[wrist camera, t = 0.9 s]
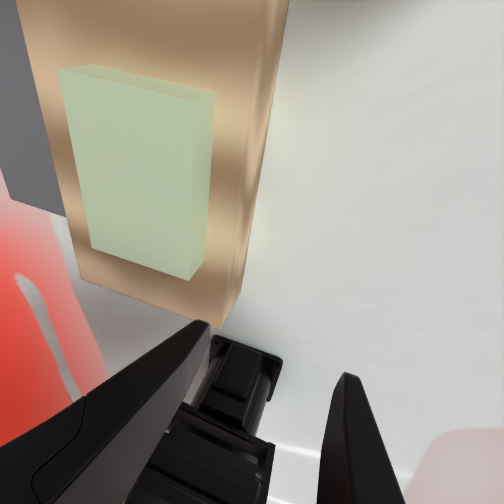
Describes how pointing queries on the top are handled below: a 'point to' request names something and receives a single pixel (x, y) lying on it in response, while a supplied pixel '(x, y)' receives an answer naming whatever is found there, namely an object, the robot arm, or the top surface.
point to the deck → (181, 72)
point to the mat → (23, 122)
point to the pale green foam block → (142, 164)
